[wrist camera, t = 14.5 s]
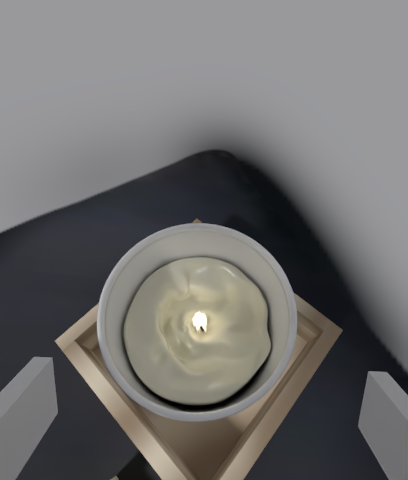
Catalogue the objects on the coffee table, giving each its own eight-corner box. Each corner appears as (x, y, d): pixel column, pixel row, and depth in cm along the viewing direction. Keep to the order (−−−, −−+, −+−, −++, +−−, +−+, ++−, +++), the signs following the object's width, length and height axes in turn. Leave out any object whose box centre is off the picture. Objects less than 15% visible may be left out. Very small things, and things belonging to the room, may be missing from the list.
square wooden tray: (79, 353, 25) (54, 341, 21) (197, 244, 31) (196, 218, 27) (205, 511, 20) (205, 535, 16) (320, 344, 25) (342, 330, 21)
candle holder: (255, 297, 27) (286, 224, 17) (262, 422, 22) (313, 427, 11) (151, 293, 27) (117, 219, 17) (133, 416, 22) (70, 416, 12)
